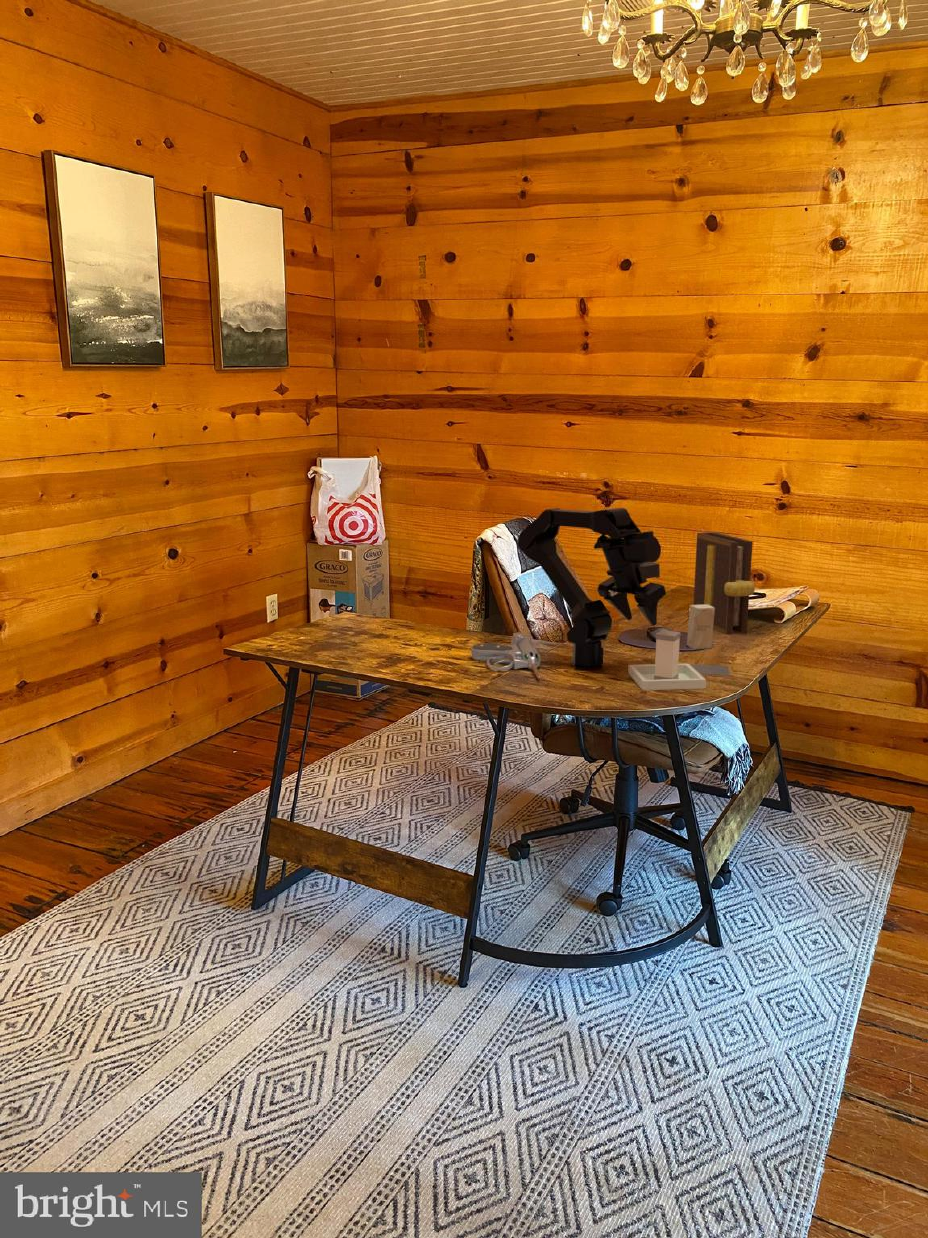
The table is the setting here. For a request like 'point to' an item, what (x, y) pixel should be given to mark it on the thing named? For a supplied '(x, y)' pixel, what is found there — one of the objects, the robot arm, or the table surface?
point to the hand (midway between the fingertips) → (642, 622)
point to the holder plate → (711, 669)
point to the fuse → (667, 655)
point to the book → (724, 579)
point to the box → (700, 626)
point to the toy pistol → (509, 654)
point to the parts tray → (686, 679)
